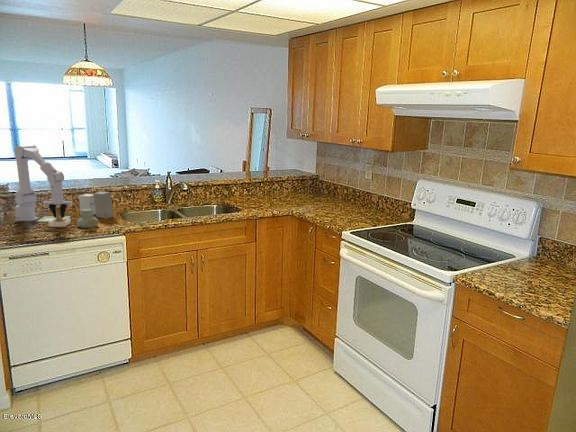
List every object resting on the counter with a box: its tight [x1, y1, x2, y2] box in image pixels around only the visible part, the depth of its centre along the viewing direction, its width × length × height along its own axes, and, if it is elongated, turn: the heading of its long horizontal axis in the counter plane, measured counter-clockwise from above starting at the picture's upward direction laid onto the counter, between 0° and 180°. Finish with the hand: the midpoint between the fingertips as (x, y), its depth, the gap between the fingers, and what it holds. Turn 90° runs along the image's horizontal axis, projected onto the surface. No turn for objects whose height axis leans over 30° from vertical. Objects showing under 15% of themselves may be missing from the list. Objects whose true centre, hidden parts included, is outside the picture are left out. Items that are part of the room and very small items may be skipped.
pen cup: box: [47, 218, 72, 228], centre depth 239 cm, size 9×9×3 cm
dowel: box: [55, 206, 63, 222], centre depth 238 cm, size 3×3×9 cm
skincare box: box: [93, 190, 114, 220], centre depth 259 cm, size 8×7×16 cm
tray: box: [36, 215, 71, 223], centre depth 250 cm, size 14×12×1 cm
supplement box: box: [78, 193, 96, 216], centre depth 265 cm, size 7×7×13 cm
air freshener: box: [76, 209, 99, 229], centre depth 237 cm, size 11×8×10 cm
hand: (59, 217), depth 238 cm, fingers closed on dowel, 3 cm apart
